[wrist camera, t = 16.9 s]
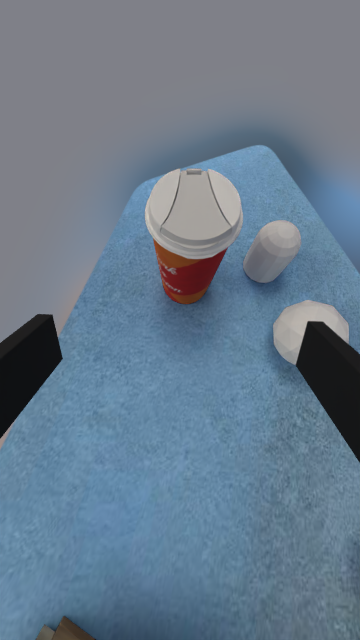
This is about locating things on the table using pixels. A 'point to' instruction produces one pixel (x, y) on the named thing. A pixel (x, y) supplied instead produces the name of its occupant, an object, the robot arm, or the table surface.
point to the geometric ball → (304, 326)
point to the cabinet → (70, 631)
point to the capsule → (272, 251)
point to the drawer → (45, 633)
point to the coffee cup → (192, 229)
